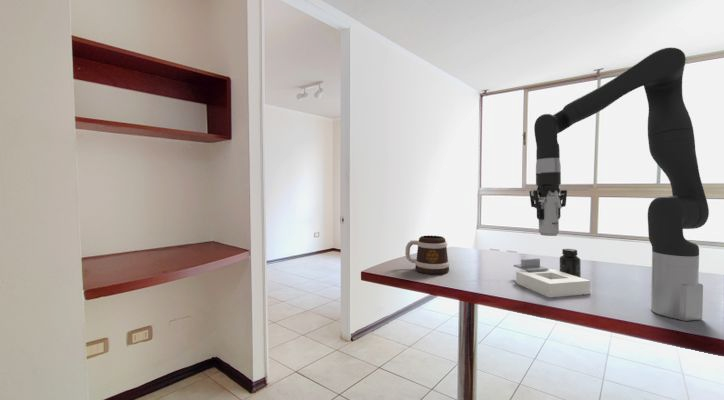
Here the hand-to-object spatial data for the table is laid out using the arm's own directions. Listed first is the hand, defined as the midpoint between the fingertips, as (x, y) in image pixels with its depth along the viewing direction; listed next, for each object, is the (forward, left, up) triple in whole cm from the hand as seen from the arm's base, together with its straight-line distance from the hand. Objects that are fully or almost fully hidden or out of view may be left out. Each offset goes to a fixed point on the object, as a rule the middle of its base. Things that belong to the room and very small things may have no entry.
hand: (548, 219), depth 108 cm
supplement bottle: (+8, -17, -25) cm, 31 cm away
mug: (+35, +31, -25) cm, 53 cm away
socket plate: (+1, -2, -25) cm, 25 cm away
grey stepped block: (+11, -2, -20) cm, 23 cm away
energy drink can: (0, 0, -6) cm, 6 cm away
